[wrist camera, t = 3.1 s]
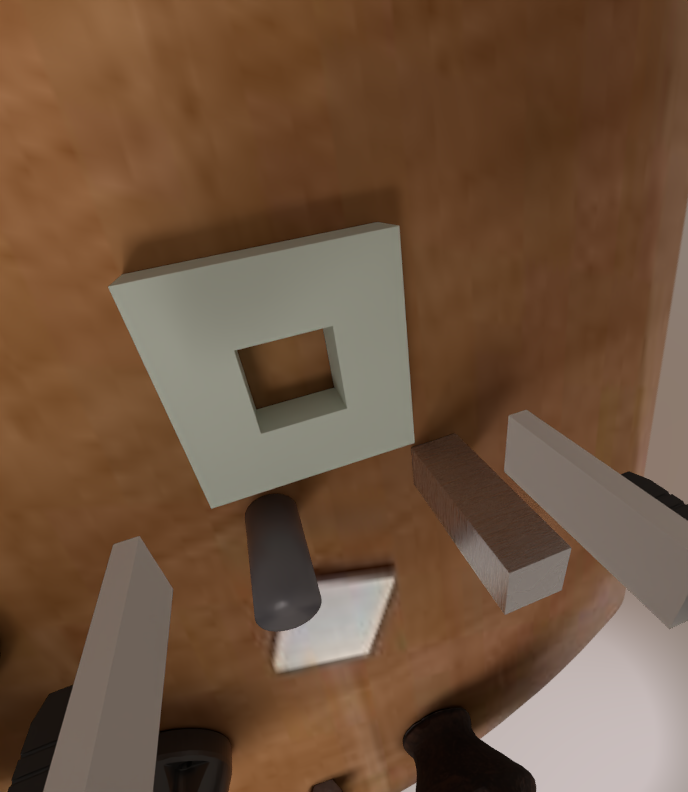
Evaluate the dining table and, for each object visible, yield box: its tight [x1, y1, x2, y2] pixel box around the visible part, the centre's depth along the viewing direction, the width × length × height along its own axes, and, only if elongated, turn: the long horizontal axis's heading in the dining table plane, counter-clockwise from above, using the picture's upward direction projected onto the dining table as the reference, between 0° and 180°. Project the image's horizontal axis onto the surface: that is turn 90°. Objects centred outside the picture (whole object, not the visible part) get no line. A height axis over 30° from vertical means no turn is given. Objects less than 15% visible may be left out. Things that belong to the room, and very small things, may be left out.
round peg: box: [245, 494, 321, 631], centre depth 26 cm, size 4×4×8 cm
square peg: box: [411, 433, 571, 614], centre depth 27 cm, size 4×4×12 cm
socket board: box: [108, 222, 415, 509], centre depth 23 cm, size 14×14×3 cm
